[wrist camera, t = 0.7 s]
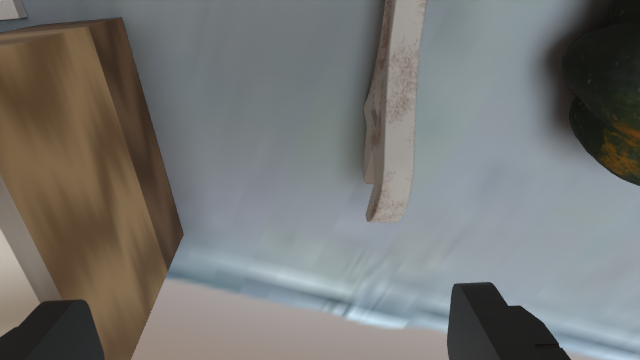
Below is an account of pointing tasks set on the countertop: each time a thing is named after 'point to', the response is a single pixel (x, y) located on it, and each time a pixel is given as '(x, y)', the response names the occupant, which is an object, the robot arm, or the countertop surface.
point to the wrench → (393, 111)
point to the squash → (608, 90)
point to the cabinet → (81, 181)
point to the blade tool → (11, 9)
